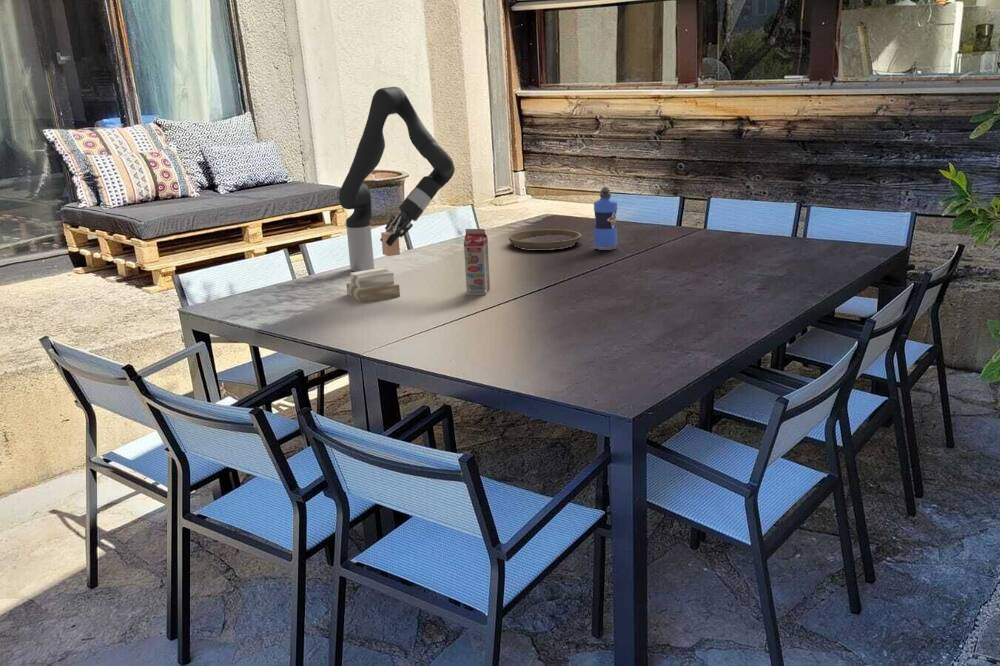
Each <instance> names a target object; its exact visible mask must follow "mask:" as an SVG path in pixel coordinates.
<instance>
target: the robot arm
mask: <svg viewBox="0 0 1000 666" xmlns="http://www.w3.org/2000/svg"><path fill="white" fill-rule="evenodd" d="M396 114H397V115H398V116H399V117H400V118H401V119H402V120H403V121H404V124H405V125H406V127H407V131H408V138H409V139H410V142H411V143H412V145H413V146H414V148H415V149H416V150H417V152H418V153H419V154H420V155H421V156H422V157H423V158H424V159H426V160H427V162H428V163H429V164H430V166H431V167H432V168H433V170H432V171H431V172H430V173H429V174H428V175H426V176H423V177H422V178H421V179H420V180H419V182H418V183H417V184H416V186H415V187H414V188H413V189H412V190H411V191H410V192H409V194H408V195H407V196H406V197H405V199H403V201H402V203H401V204H400V205H399V207H398V209H399V211H400V212H399V213H398V214H397V215H394V214H393V215H392V216H390V217H391V218H390V219H389V221H388V222H387V224H386V226H385V228H384V229H385V232H389V231H393V234H391V236H390V237H389V238H388V240H387V241H386V244H388V245H389V246H391V245H392V244H393V243H394V242H395V240H396V239H397V238H399V239H400V238H402V237H404V236H405V234H406V233H407V232H408V231H410V230H411V228H412V227H414V224H413V223H411V222H412V221H413V222H417V220H418V219H419V218H420V217H421V216H422V214H423V213H424V211H425V210H426V209H427V207H428V206H429V205H430V203H431V201H432V200H433V199H434V197H435V196H436V195H437V193H438V192H439V190H441V189H442V188H443V187H444V186H445V185H446V184H447V183H449V181H450V180H451V179H452V177H453V176H454V173H455V172H456V171H455V169H456V168H455V165H454V162H453V159H452V157H451V156H450V154H448V153H447V152H446V150H445V149H443V147H442V146H440V145H439V143H438V142H437V140H436V139H435V138H434V137H433V136H432V134H431V133H430V132H429V131H428V129H427V128H426V126H425V124H424V123H423V122H422V121H421V118H420V117H419V115H418V114H417V112H416V110H415V108H414V107H413V105H412V103H411V101H410V99H409V98H408V96H407V94H406V93H405V91H404V90H403V89H402V88H400V87H398V86H389V87H388V86H387V87H382V88H379V89H377V90H376V91H375V92H374V94H373V96H372V99H371V103H370V107H369V112H368V115H367V119H366V120H367V121H366V123H365V127H364V129H363V132H362V135H361V138H360V141H359V142H358V145H357V148H356V151H355V155H354V157H353V160H352V163H351V166H350V168H349V171H348V173H347V175H346V176H345V179H344V181H343V183H342V185H341V187H340V190H339V194H338V201H339V205H340V206H341V207H342V208H343V210H344V209H345V210H353V212H352V213H351V215H349V217H347V218H346V220H345V224H346V227H345V228H346V233H347V234H346V236H347V244H348V245H347V246H348V256H349V257H348V258H349V267H350V268H349V269H350V272H358V271H364V270H371V269H375V262H374V261H375V260H374V249H373V238H372V228H371V227H372V226H371V220H372V216H373V215H372V196H371V195H372V194H371V191H370V188H369V187H368V185H366V183H364V181H365V180H366V178H367V177H368V176H369V175H370V174H372V172H373V171H374V170H375V169H376V168H377V167H378V166H379V164H380V162H381V159H382V157H383V155H384V151H385V148H386V142H385V141H386V140H385V136H384V127H385V124H386V121H387V119H388V117H389V116H390V115H396ZM380 242H381V243H382V238H381V237H380Z"/></svg>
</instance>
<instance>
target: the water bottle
mask: <svg viewBox="0 0 1000 666" xmlns="http://www.w3.org/2000/svg"><path fill="white" fill-rule="evenodd" d="M611 193H612V192H611V190H610V189H609V187H606V186H605V187H602V188H601V189H600V193H599V199H598V200H596V201H594V202H593V212H594V218H595V219H594V220H595V224H594V247H595V246H597V247H612V246H616V245H617V246H618V239H617V238H618V236H617V235H618V229H617V228H618V227H617V222H616V221H617V220H616V219H617V211H618V202H617V201H616V200H614V199H611V195H612V194H611Z"/></svg>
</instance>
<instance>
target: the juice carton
mask: <svg viewBox="0 0 1000 666" xmlns="http://www.w3.org/2000/svg"><path fill="white" fill-rule="evenodd" d="M488 240H489V239H488V235H487V234H486V228H465V236H464V238H463V251H464V252H463V253H464V266H465V267H464V268H465V269H464V272H465V285H466V289H465V290H466V295H468V296H486V295H488V293H489V292H490V291H491V286H490V285H491V282H490V264H489V263H490V262H489V242H488ZM485 290H486V292H485ZM489 290H490V291H489Z"/></svg>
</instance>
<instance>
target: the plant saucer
mask: <svg viewBox="0 0 1000 666" xmlns="http://www.w3.org/2000/svg"><path fill="white" fill-rule="evenodd" d="M545 235H565V236H570V237H573V239H569V240H563V241H554V242H526V241H519V240H522V239H526V238H530V237H536V236H545ZM582 236H583V235H582V233H580V232H579V231H575V230H569V229H555V228H554V229H553V228H551V229H550V228H549V229H532V230H523V231H518V232H514V233H511V234H510V235H508V241H509V242H510V243H511V244H512V245H513V246H514V247H515V246H516V247H519V248H525V249H551V248H560V247H566V246H570V245H573V244H575V243H576V242H577V243H578V242H579V241H580V240H581V238H582ZM516 247H515V248H516Z"/></svg>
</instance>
